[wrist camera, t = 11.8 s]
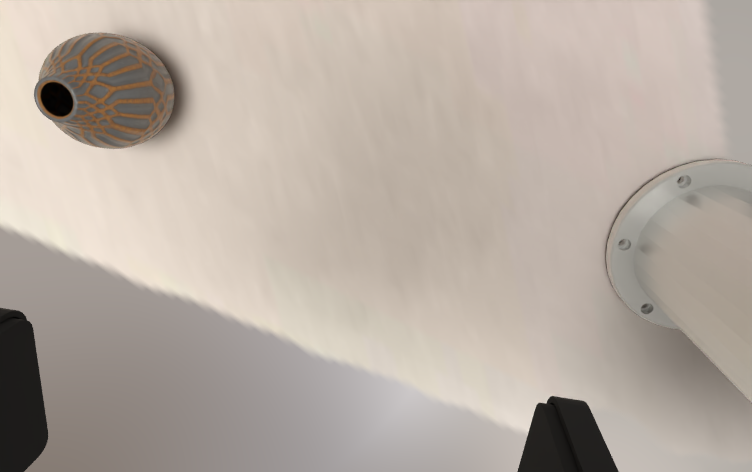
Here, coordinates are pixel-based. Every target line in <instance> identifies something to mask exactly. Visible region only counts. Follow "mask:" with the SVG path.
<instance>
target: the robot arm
mask: <svg viewBox="0 0 752 472" xmlns="http://www.w3.org/2000/svg"><path fill="white" fill-rule="evenodd" d="M680 177H681V179H680V181H678V179H679V178H680ZM677 181H678V182H677ZM622 239H623V241H622V242H621V243H619V242H620V241H621V240H622ZM606 263H607V271H608V275H609V278H610V280H611V283H612V286H613V288H614V289H615V291H616V292H617V294H618V295H619V297H620V298H621V299H622V301H623V302H624V303H625V304H626V305H627V306H628V307H629V308H630V309H631V310H632V311H633V312H634V313H636V314H637V315H638V316H640V317H641V318H643V319H645V320H647V321H649V322H651V323H653V324H655V325H659V326H663V327H666V328H670V329H680V330H681V331H682V332H683V333H684V334H685V335H686V336H687V337H688V338H689V339H690V340H691V341H692V342H693V343H694V344H695V345H696V346H697V347H698V348H699V349H700V350H701V351H702V352H703V353H704V354H705V355H706V356H707V357H708V359H709V360H710V361H711V362H712V363H713V364H714V365H715V366H716V367H717V368H718V369H719V370H720V371H721V372H722V373H723V374H724V375H725V376H726V377H727V378H728V379H729V380H730V381H731V382H732V383H733V384H734V385H735V387H736V388H737V389H738V390H739V391H740V392H741V393H742V394H743V395H744V396H745V397H746V398H747V399H748V400H749V401H750V402H751V403H752V165H749V164H746V163H742V162H738V161H734V160H721V159H713V160H703V161H696V162H693V163H689V164H685V165H682V166H678V167H676V168H674V169H672V170H670V171H667V172H665V173H663V174H661V175H659V176H658V177H656V178H655V179H653V180H652V181H650V182H649V183H647V184H646V185H645V186H644V187H642V188H641V189H640V190H639V191H638V192H637V193H636V194H635V195H634V196H633V197H632V198H631V199H630V200H629V201H628V203H627V204H626V205H625V207H624V208H623V209H622V210H621V212H620V213H619V215H618V217H617V219H616V221H615V223H614V225H613V227H612V229H611V233H610V236H609V239H608V243H607V252H606ZM47 440H48V429H47V422H46V415H45V408H44V401H43V395H42V387H41V381H40V374H39V367H38V360H37V353H36V347H35V339H34V333H33V327H32V324H31V323H30V322H29V321H27V319H26V316H25V315H24V314H23V313H22V312H20V311H16V310H10V309H3V308H0V472H24V471H25V470H26V469H27V468H28V467H29V466H30V465H31V464H32V463H33V462H34V461H35V460H36V459H37V458H38V457H39V455H40V454H41V453H42V451H43V450H44V448H45V446H46V443H47ZM518 472H618V469H617V467H616V465H615V463H614V461H613V458H612V456H611V454H610V452H609V450H608V448H607V445H606V443H605V441H604V439H603V437H602V434H601V432H600V430H599V428H598V426H597V424H596V421H595V419H594V417H593V415H592V413H591V410H590V408H589V406H588V405H587V403H586V402H584V401H580V400H573V399H567V398H561V397H555V396H552V397H550V398H549V399H548V401H547V404H545V403H538V404H537V406H536V409H535V412H534V415H533V419H532V422H531V426H530V430H529V433H528V437H527V440H526V444H525V447H524V451H523V455H522V458H521V461H520V465H519V468H518Z"/></svg>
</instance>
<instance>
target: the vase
mask: <svg viewBox="0 0 752 472" xmlns="http://www.w3.org/2000/svg"><path fill="white" fill-rule="evenodd" d="M34 98H35V102H36V104H37V107H38V108H39V110H40V111H41V112H42V113H43V115H45V116H46V117H47V118H49V119H50V120H52V121H53V122H54V123H55V125H56V126H57V127H58V128H60V129H61V130H62V131H63V132H64V133H66V134H67V135H68V136H70V137H72V138H73V139H75V140H77V141H80V142H82V143H84V144H87V145H91V146H95V147H100V148H109V149H119V148H127V147H131V146H135V145H138V144H140V143H143V142H145V141H147V140H149V139H150V138H152V137H153V136H155V135H156V134H157V133H158V132H159V131H160V130H161V129H162V128H163V127H164V126H165V124H166V123H167V121H168V119H169V118H170V116H171V113H172V110H173V106H174V87H173V83H172V80H171V77H170V75H169V73H168V71H167V69H166V68H165V66H164V65H163V63H162V62H161V61H160V59H159V58H158V57H157V56H156V55H155V54H154V53H153V52H151V51H150V50H149V49H148V48H146V47H145V46H143V45H142V44H140V43H138V42H136V41H134V40H132V39H130V38H127V37H124V36H120V35H115V34H108V33H89V34H83V35H79V36H76V37H73V38H71V39H69V40H67V41H65V42H63V43H61V44H60V45H59V46H57V47H56V48H55V49H54V50H53V51H52V52H51V53H50V54H49V55H48V56H47V58H46V59H45V61H44V63H43V65H42V68H41V70H40V74H39V81H38V83H37V84H36V87H35V90H34Z"/></svg>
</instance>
